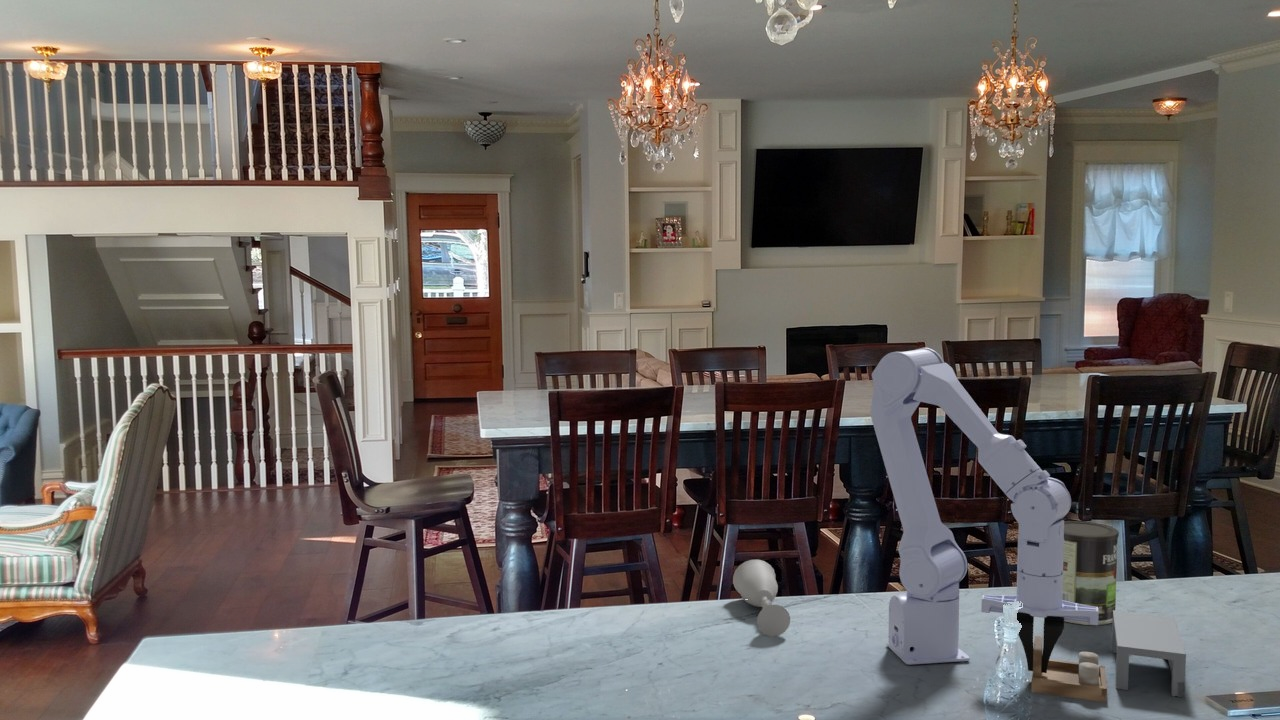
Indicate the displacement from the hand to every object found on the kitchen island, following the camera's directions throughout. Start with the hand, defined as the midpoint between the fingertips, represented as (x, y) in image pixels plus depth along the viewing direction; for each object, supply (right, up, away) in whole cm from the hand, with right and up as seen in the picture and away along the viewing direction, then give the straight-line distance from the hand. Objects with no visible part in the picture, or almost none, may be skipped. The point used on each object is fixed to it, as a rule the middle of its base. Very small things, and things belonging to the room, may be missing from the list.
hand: (1037, 669), depth 138 cm
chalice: (-33, +2, +17) cm, 37 cm away
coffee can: (+17, +1, +26) cm, 31 cm away
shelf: (+16, -1, +3) cm, 16 cm away
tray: (+4, -2, -1) cm, 4 cm away
